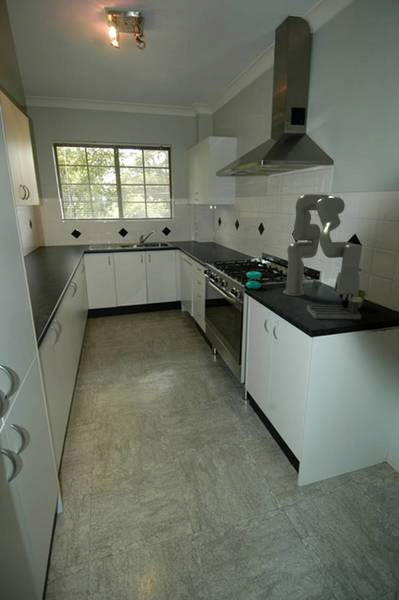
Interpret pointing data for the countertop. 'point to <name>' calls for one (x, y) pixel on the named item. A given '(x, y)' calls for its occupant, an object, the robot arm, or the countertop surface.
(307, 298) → the countertop surface
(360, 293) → the plant pot
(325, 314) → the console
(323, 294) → the countertop surface
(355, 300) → the fader knob
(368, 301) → the countertop surface
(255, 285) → the teal spool
